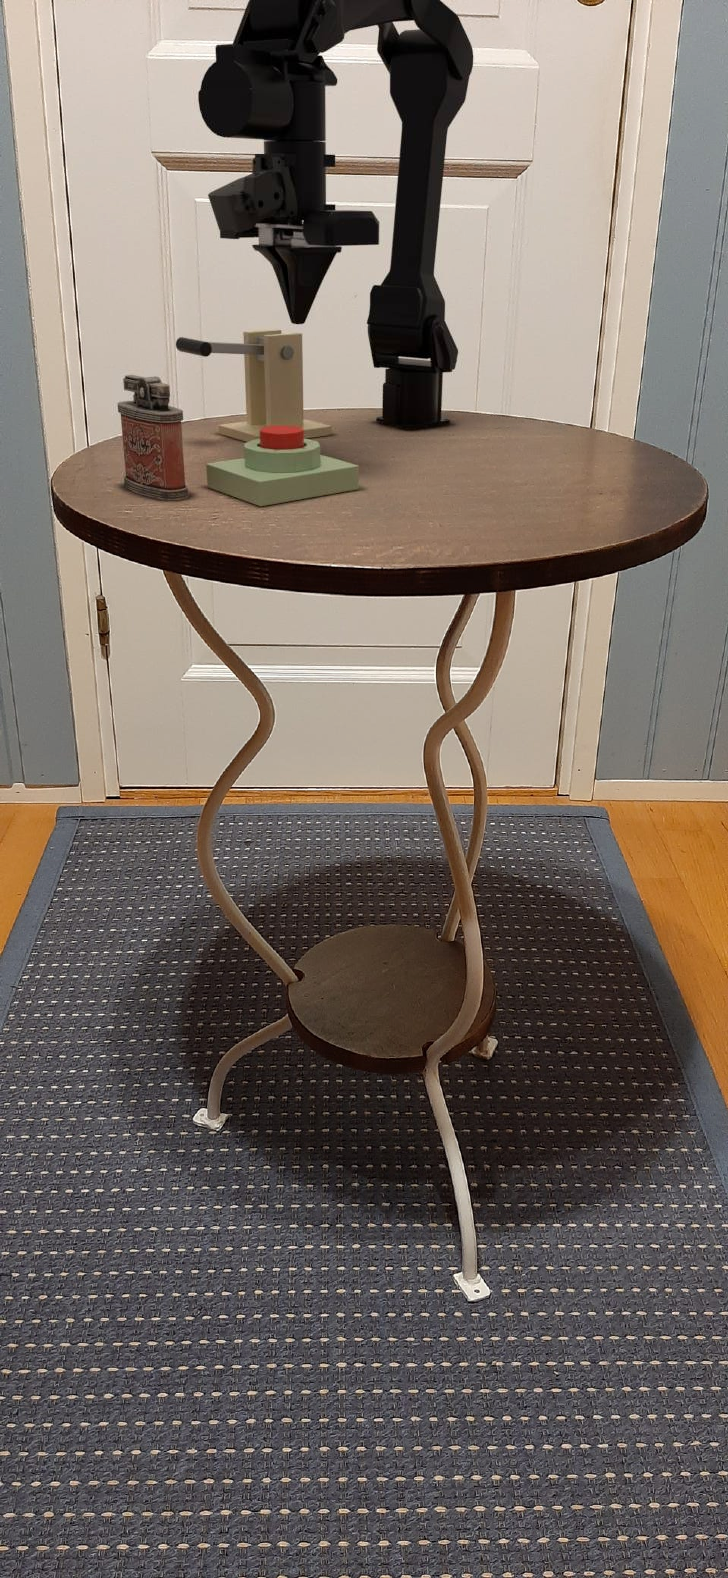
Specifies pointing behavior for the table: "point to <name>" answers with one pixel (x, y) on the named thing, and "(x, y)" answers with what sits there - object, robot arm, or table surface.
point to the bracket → (274, 388)
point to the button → (281, 437)
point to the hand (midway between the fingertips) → (297, 323)
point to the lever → (220, 347)
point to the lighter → (152, 440)
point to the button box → (281, 474)
